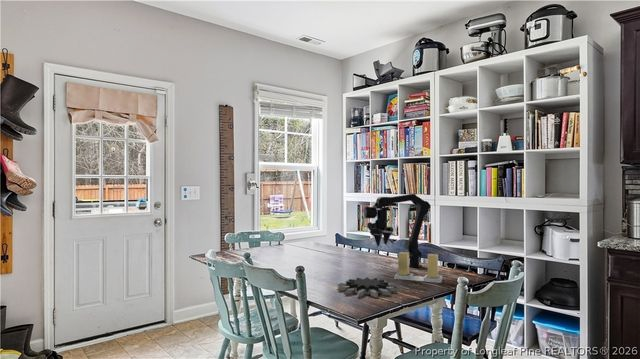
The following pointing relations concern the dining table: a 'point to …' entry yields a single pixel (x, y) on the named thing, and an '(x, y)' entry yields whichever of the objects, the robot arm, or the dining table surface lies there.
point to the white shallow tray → (418, 278)
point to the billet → (403, 263)
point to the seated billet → (433, 266)
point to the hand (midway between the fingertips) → (381, 245)
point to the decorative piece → (367, 287)
